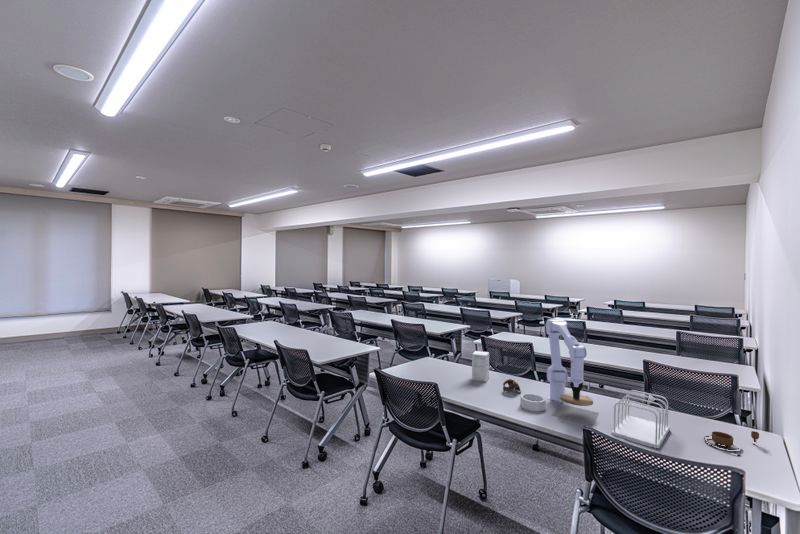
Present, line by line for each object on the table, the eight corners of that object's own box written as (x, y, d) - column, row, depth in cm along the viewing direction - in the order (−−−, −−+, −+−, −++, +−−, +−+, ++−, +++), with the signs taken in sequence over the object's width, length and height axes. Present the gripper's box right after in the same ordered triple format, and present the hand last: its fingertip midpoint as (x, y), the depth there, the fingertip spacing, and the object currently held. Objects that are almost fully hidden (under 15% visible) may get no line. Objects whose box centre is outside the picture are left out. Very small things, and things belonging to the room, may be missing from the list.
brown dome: (523, 396, 210) (518, 384, 209) (508, 402, 212) (502, 390, 210) (518, 383, 222) (513, 373, 220) (503, 389, 224) (498, 378, 222)
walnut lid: (564, 392, 195) (564, 385, 195) (595, 399, 186) (595, 392, 186) (556, 400, 183) (556, 393, 183) (590, 408, 174) (590, 400, 174)
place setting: (698, 434, 167) (698, 421, 167) (757, 444, 158) (757, 431, 158) (710, 452, 151) (710, 438, 151) (776, 465, 143) (776, 449, 142)
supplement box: (489, 377, 240) (489, 352, 240) (486, 382, 232) (487, 355, 232) (474, 375, 244) (475, 350, 244) (471, 379, 236) (471, 353, 236)
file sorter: (626, 418, 182) (627, 387, 181) (670, 430, 169) (671, 397, 169) (611, 435, 164) (612, 400, 164) (658, 450, 152) (659, 412, 151)
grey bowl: (525, 400, 202) (525, 391, 202) (547, 406, 195) (548, 397, 195) (517, 407, 192) (517, 398, 192) (541, 413, 185) (541, 404, 185)
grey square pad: (561, 404, 197) (561, 404, 197) (599, 413, 187) (599, 412, 187) (552, 415, 183) (552, 415, 183) (592, 426, 172) (592, 425, 172)
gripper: (569, 365, 193) (568, 391, 193) (567, 372, 180) (566, 400, 180) (584, 367, 189) (583, 393, 190) (583, 375, 176) (582, 403, 177)
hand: (576, 397), depth 185 cm, fingers closed on walnut lid, 3 cm apart
